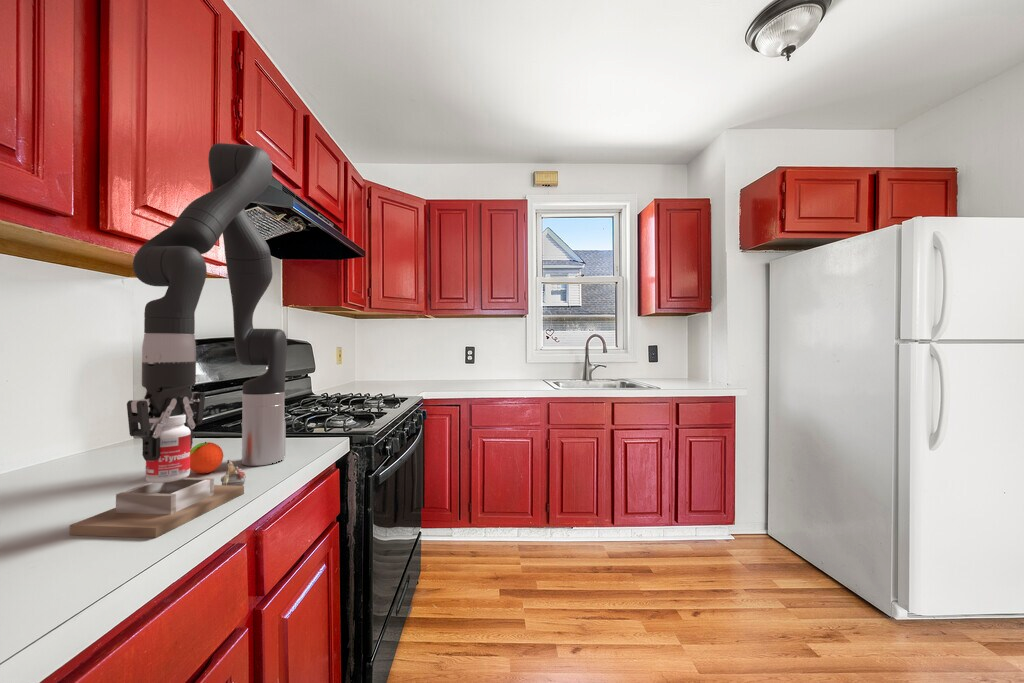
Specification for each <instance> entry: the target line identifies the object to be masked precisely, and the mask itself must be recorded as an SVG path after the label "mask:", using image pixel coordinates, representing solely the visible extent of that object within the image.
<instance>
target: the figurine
mask: <svg viewBox="0 0 1024 683" xmlns="http://www.w3.org/2000/svg"><path fill="white" fill-rule="evenodd" d="M226 462H227V467H228V468H227V471H225V475H223V476H221V478H220V482H221V485H229V486H245V485H244V484H245V482H246V477H247V475H246V473H245V472H244V471H242V470H243V468H239V467H238V465H236V466H234V463H233V462H232V461H231V459H227V460H226Z"/></svg>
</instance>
